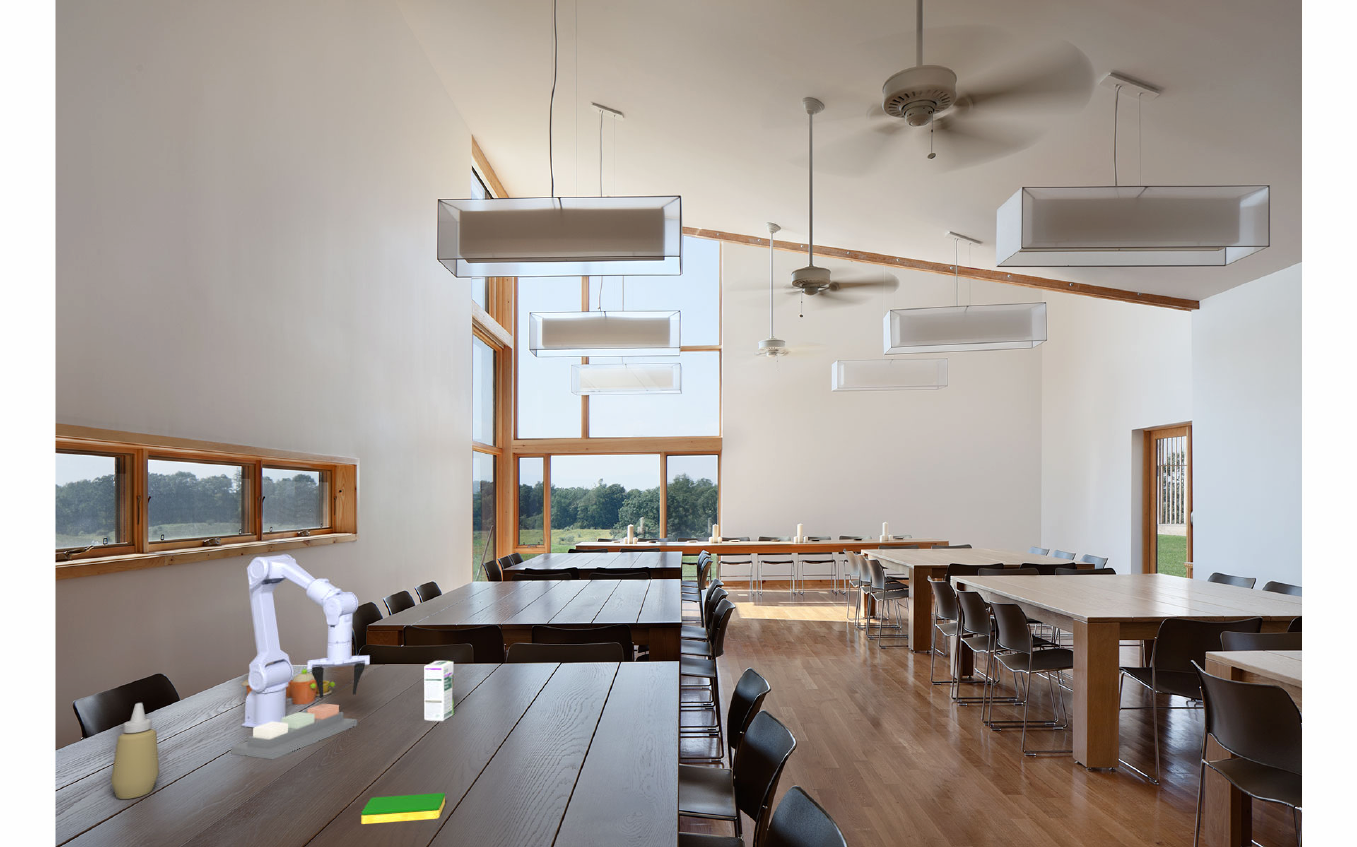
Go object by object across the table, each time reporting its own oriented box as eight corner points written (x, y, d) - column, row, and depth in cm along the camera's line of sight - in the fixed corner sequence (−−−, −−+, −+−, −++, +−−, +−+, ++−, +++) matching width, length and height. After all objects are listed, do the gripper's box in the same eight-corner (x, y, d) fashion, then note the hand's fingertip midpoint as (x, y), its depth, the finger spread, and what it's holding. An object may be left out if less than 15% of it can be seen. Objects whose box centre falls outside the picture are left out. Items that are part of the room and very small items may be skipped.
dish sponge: (438, 820, 139) (438, 806, 140) (360, 826, 137) (361, 812, 138) (445, 804, 146) (445, 791, 147) (370, 809, 144) (371, 796, 145)
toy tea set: (338, 691, 232) (339, 659, 233) (319, 705, 216) (320, 671, 217) (250, 694, 229) (251, 662, 230) (224, 709, 214) (225, 674, 215)
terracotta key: (307, 718, 192) (307, 708, 193) (323, 713, 197) (323, 703, 197) (323, 720, 191) (323, 710, 191) (338, 714, 195) (338, 704, 196)
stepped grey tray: (231, 753, 176) (231, 737, 176) (318, 720, 201) (318, 707, 201) (273, 759, 172) (273, 743, 172) (357, 725, 196) (357, 711, 196)
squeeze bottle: (126, 787, 156) (130, 698, 158) (167, 785, 157) (171, 697, 159) (99, 803, 148) (104, 709, 150) (143, 801, 149) (147, 708, 151)
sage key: (281, 728, 185) (281, 717, 185) (298, 722, 190) (298, 711, 190) (297, 730, 183) (297, 719, 183) (314, 723, 188) (314, 713, 188)
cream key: (252, 738, 177) (253, 727, 178) (271, 731, 182) (271, 721, 182) (269, 740, 176) (269, 729, 176) (287, 733, 180) (288, 723, 181)
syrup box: (443, 721, 198) (444, 665, 200) (423, 720, 200) (423, 664, 201) (454, 715, 204) (454, 660, 205) (434, 714, 205) (434, 659, 206)
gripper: (307, 646, 187) (305, 702, 186) (369, 641, 192) (368, 695, 191) (309, 641, 194) (307, 694, 192) (370, 636, 199) (368, 689, 198)
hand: (338, 695), depth 192 cm, fingers open, 7 cm apart
